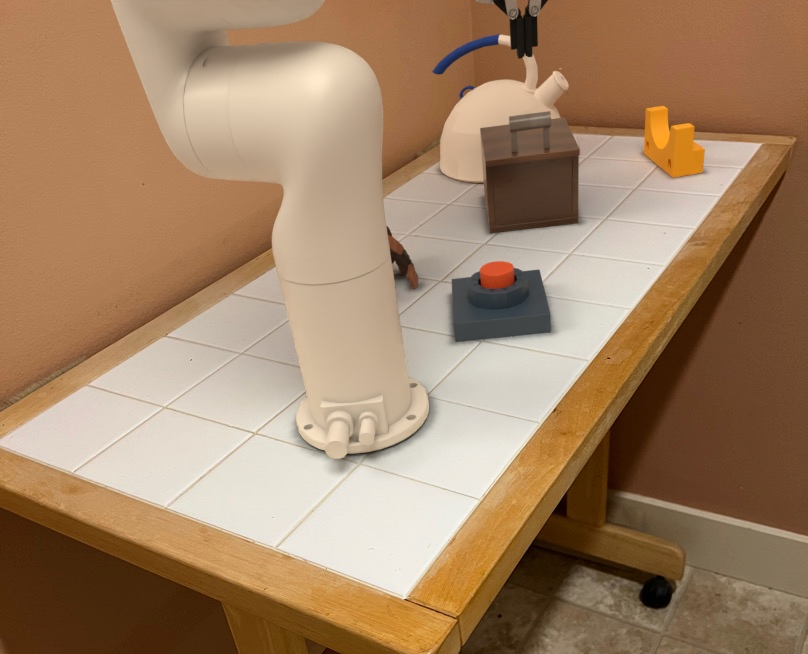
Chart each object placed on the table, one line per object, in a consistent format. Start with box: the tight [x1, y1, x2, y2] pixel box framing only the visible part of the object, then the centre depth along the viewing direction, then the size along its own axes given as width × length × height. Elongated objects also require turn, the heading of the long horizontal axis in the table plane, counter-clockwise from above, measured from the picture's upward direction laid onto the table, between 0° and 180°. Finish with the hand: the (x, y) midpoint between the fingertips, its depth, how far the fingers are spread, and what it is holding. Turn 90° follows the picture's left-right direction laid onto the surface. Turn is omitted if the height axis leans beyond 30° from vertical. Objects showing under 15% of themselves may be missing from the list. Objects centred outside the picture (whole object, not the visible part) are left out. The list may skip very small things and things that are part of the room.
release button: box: [479, 260, 515, 289], centre depth 87 cm, size 4×4×2 cm
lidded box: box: [481, 141, 580, 234], centre depth 109 cm, size 14×12×9 cm
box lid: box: [480, 111, 581, 167], centre depth 105 cm, size 14×12×5 cm
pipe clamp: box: [643, 105, 706, 179], centre depth 117 cm, size 12×4×6 cm, turn 6°
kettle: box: [432, 33, 570, 184], centre depth 124 cm, size 20×21×18 cm
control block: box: [451, 267, 552, 343], centre depth 88 cm, size 11×10×4 cm
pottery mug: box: [386, 225, 419, 290], centre depth 98 cm, size 12×10×8 cm
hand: (524, 54), depth 93 cm, fingers closed
